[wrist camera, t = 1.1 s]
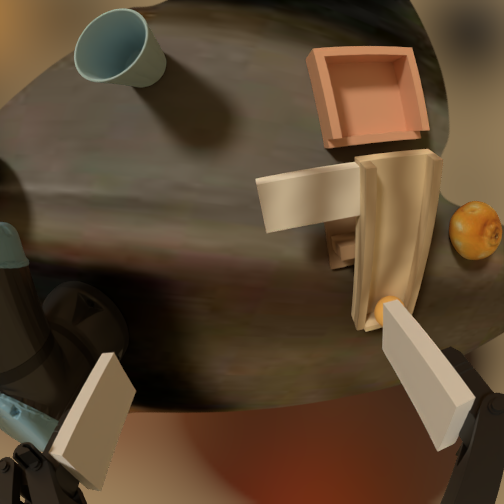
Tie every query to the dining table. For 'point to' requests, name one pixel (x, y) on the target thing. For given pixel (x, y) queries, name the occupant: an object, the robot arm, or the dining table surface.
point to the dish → (367, 94)
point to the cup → (119, 50)
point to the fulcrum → (341, 241)
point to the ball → (379, 308)
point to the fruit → (475, 230)
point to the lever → (367, 218)
